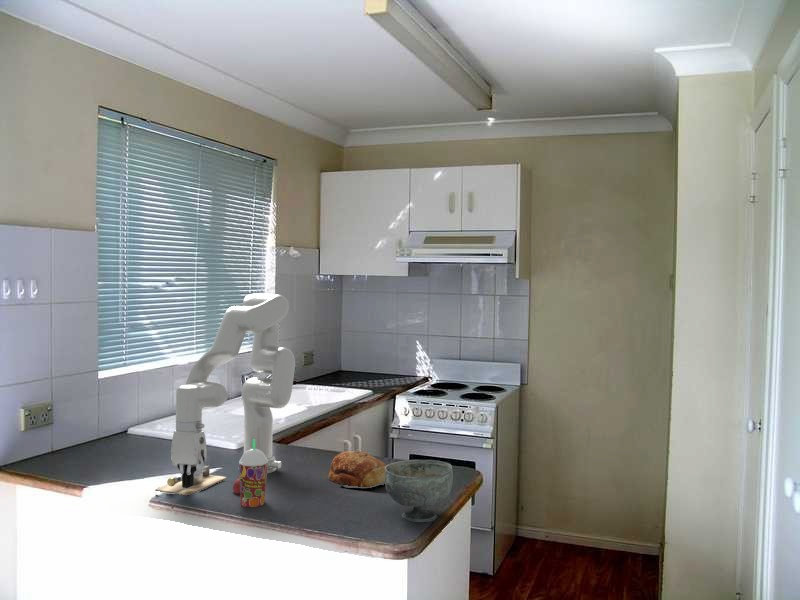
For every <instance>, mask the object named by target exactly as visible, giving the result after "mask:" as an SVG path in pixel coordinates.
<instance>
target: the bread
mask: <svg viewBox="0 0 800 600" xmlns="http://www.w3.org/2000/svg"><path fill="white" fill-rule="evenodd" d="M387 465H388V464H387V463H386V462H383V461H382V460H381V459H379V458H377V457H375V456H373V455H372V454H370V453H368V452H366V451H360V450H359V451H358V450H355V451H353V450H352V451H350V450H349V451H343V452H339V454H337V455H335V456H334V457H333V459H332V461H331V463H330V471H329V473H328V478H327V479H328V480H329V481H330V480H331V481H330V482H332V483H335V482H336V483H335V484H337V483H338V485H340V484H342V485H348V486H358V487H370V486H375V485H377V484H380V483H382V482H384V481H385V466H387ZM342 485H341V486H342Z"/></svg>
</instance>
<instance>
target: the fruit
mask: <svg viewBox="0 0 800 600" xmlns="http://www.w3.org/2000/svg"><path fill="white" fill-rule="evenodd" d="M232 491H233V493H234V494H235V495H240V477H238V478H237V479H236V480H235V481H234V482H233V485H232Z"/></svg>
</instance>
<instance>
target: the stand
mask: <svg viewBox="0 0 800 600" xmlns="http://www.w3.org/2000/svg"><path fill="white" fill-rule="evenodd" d="M204 467H205V468H206V471H205V472H203V479H202V483H200V484H195V485H193V486H191V487H189V488H183V487H182V481H181V482H178V483H176V484H175V485H174V486H169V485H168V484H166V485H162V486H161V487H158V488H156V489H155V490H154V491H160V492H167V493H175V494H179V495H181V494H182V495H183V496H187V495H189V496H191V495H193V494H196V493H195V492H197V491H200V490H202V489H205V488H207V487H209V486H211V485H214V484H216V483H218V484H220V483H221V482H220V481H223V480H225V479H226V478H228V476H222V475H214V474H210V472H211V471H210V469H211V468H210V465H204ZM219 482H220V483H219ZM223 482H224V481H223ZM216 485H217V484H216ZM214 486H215V485H214Z"/></svg>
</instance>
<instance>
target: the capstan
mask: <svg viewBox="0 0 800 600" xmlns="http://www.w3.org/2000/svg"><path fill="white" fill-rule="evenodd" d="M205 471H206V468H205V467H204V468H202V469H198V470H196V472H195V473H194V482H193V485H195V484H200V483H202V479H203V472H205ZM166 481H167V482H166V483H167V484H166V485H169V486H174V485H175V484H176V483H178V482H181V481H182V474H180V475H177V476H175V477H169V478H168V479H167V480H166Z"/></svg>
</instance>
